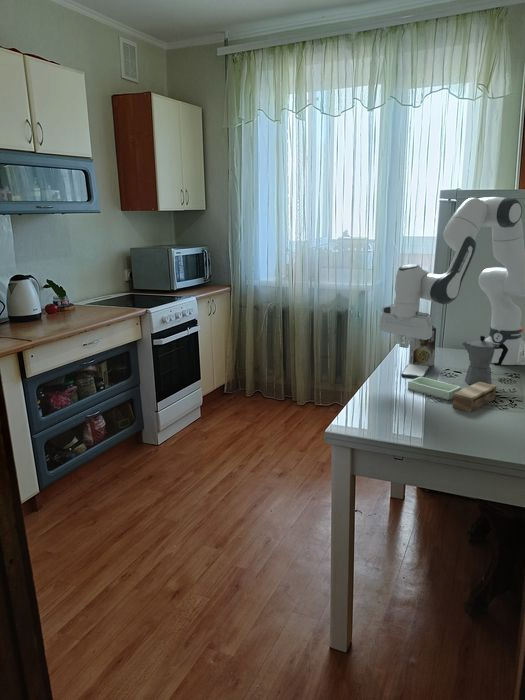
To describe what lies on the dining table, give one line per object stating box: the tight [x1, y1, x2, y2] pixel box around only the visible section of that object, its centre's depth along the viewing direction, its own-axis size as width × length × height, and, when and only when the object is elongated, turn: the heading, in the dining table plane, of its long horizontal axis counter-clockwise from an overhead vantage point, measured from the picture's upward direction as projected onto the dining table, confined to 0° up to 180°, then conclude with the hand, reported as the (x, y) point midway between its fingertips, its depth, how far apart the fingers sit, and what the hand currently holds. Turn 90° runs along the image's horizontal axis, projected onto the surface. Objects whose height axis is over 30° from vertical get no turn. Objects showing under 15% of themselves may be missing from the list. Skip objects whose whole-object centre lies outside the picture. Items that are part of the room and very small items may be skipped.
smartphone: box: [400, 364, 431, 380], centre depth 203 cm, size 9×2×16 cm
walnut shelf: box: [452, 382, 497, 413], centre depth 170 cm, size 17×6×5 cm, turn 131°
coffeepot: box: [462, 335, 508, 386], centre depth 187 cm, size 15×9×18 cm, turn 66°
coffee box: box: [408, 324, 437, 367], centre depth 212 cm, size 9×6×16 cm
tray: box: [407, 376, 462, 401], centre depth 181 cm, size 8×16×3 cm, turn 41°
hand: (403, 347), depth 187 cm, fingers closed
